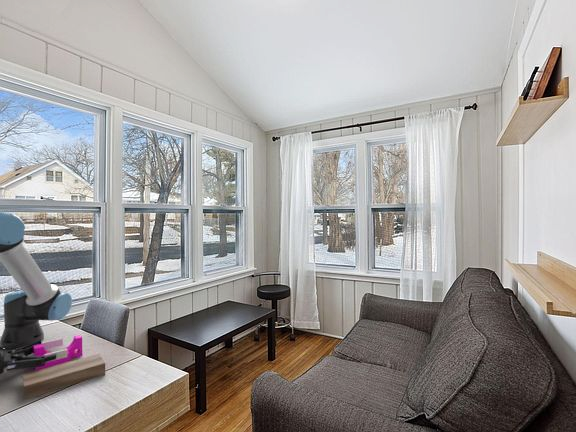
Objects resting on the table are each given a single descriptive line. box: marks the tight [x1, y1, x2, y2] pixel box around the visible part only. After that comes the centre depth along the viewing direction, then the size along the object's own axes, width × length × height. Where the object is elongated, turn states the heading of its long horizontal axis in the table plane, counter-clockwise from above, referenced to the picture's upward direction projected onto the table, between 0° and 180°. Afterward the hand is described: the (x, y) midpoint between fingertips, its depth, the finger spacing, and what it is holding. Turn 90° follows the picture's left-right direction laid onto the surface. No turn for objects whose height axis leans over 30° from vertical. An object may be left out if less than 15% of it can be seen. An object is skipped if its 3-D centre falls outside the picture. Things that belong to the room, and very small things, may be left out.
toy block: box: [32, 334, 83, 371], centre depth 121 cm, size 15×6×8 cm, turn 135°
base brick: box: [22, 353, 106, 400], centre depth 107 cm, size 10×22×4 cm, turn 132°
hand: (65, 347), depth 120 cm, fingers open, 13 cm apart
